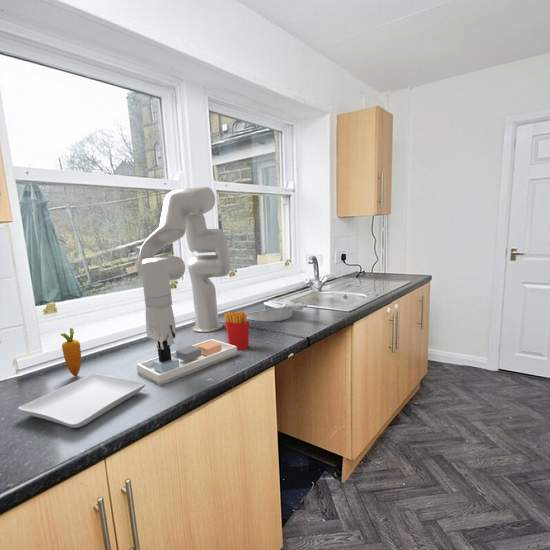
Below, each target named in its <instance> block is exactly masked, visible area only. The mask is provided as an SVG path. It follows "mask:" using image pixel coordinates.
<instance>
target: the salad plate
mask: <svg viewBox="0 0 550 550" xmlns="http://www.w3.org/2000/svg"><path fill="white" fill-rule="evenodd" d="M146 385H147V383H146V382H143V381H141V380H140V381H138V380H134V379H128V378H123V377H118V376H112V375H108V374H100V373H91V374H89V375H87V376H85V377H82V378H80V379H78V380H75V381H73V382H71V383H68V384H65V385H63V386H62V387H59V388H56V389H54V390H53V391H50V392H48V393H46V394H44V395H42V396H39V397H38V398H35V399H33V400H31V401H29V402H27V403H24V404H22V405H20V406H18V407H17V410H18V411H19V412H21V413H23V414H25V415H28V416H32V417H36V418H40V419H43V420H47V421H50V422H53V423H57V424H59V425H60V424H61V425H64V426H67V427H69V428H72V429H77V428H82V427H83V426H86V425H88V424H89V423H90V422H92V421H93V420H95V419H97V418H99V417H100V416H102V415H104V414H105V413H107V412H108V411H110V410H112V409H113V408H115V407H116V406H118V405H120V404H122V403H123V402H125V401H126V400H128V399H130V398H132V397H134V396H135V395H137V394H138V393H140V391H142V390H143V389H144V388H145V386H146Z"/></svg>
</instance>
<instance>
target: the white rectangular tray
mask: <svg viewBox="0 0 550 550" xmlns="http://www.w3.org/2000/svg"><path fill="white" fill-rule="evenodd" d="M211 341H212V342H215V343H218V344H221V349H222V351H220V352H217V353H215V354H212V355H209V356H205V355H203V354H201V356H200V357H197V358H195V359H192V360H189V361H187V362H186V361H183V360H181V359H179V367H177V368H175V369H172V370H169V371H167V372H164V373H161V372H159V371H157V370H155V369H153V361H155V360H158V359H159V356H157V357H154V358H151V359H148V360H145V361H144V360H143V361H142V362H138V363H136V370H137V372H136V373H137V374H138V375H139V376H142V377H143V378H144V379H147V380H148V381H150V382H151V383H154V384H156V385H158V386H159V387H160V386H163V385H166V384H168V383H171V382H173V381H176V380H178V379H181V378H184V377H185V375H186V376H188V375H191V374H194V373H196V372H198V371H201V370H204V369H205V368H207V367H208V368H209V367H211V366H213V365H215V364H218V363H221V362H224V361H225V360H228V359H231V358H233V357H236V356H238V350H237V346H234V345H231V344H229V342H228V343H226V342H223V341H221V340H217V339H215V338H210V339H207V340H204V341H200V342H198V343H196V344H192V345H191V346H194V347H197V348H198V346H199V345H202V344H205V343H208V342H211ZM171 356H172V357H174V358H176V359H178V358H177V357H176V350H175V351H171ZM180 377H181V378H180ZM170 381H171V382H170ZM165 383H166V384H165Z"/></svg>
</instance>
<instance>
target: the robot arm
mask: <svg viewBox="0 0 550 550" xmlns="http://www.w3.org/2000/svg"><path fill="white" fill-rule="evenodd" d="M215 204H216V195H215V193H214V191H213V190H212V188H210V187H208V186H204V187H203V186H201V187H191V188H190V187H189V188H187V187H185V188H178V189H174V190H171V191H170V192H169V193H167V194H166V195H165V197H164V199H163V204H162V210H161V215H160V220H159V224H158V225H159V226H158V228H157V229H155V230H154V231H153V232H152V233H151V234H150V235H149V236H148V237H147V238H146V239H145V241H144V242H143V243H142V244H141V247H140V250H139V253H138V258H137V264H136V265H137V266H136V271H137V275H138V277H139V279H140V280H142V286H143V287H142V288H143V289H142V290H143V295H144V305H145V326H146V327H145V330H146V336H147V337H148V338H149V339H150V340H151V339H152V340H153V341H154V342H155V343H156V348H157V355H158V356H157V357H159V361H160V362H162V363H163V362H166V361H168V360H171V352H172V351H171V347H172V345H174V344H175V340H174V339H175V338H176V337H177V327H176V321H175V315H174V312H173V311H174V310H173V300H172V299H173V298H172V297H173V296H172V290H171V282H170V281H177V280H179V279H181V278H182V277H183V276H184V274H185V272H186V265H185V264H186V263H185V261H184V260H183V259H182V258H181V257H180V256H177V255H171V256H170V255H168V256H166V255H165V256H156V254H157V253H158V252H159V251H160V250H161V249H163V248H165V247H166V246H168V245H171V244H173V243H175V242H176V241H178V240H180V239H182V238H183V237H184V236H186V237H185V238H186V242H187V247H188V250H189V251H190V252H191V253H193V254H198V255H194V256H192V257H190V258H189V260H188V262H187V270H188V273H189V277H190V282H191V289H192V296H193V297H192V298H193V307H194V314H195V315H194V316H195V318H193V319H192V321H193V322H194V323H195V325H193V326H192V330H193V331H194V332H196V333H209V332H211V333H212V332H214V331H218V330H220V329H222V328H223V323H221V322H219V315H218V314H219V313H218V304H217V302H218V301H217V295H216V294H217V291H216V286H215V284H214V282H213V281H211V279H210V278H224V277H227V276H229V274H230V273H231V261H230V254H229V247H228V240H227V235H226V233H225V232H224V231H225V230H224V231H223V230H222V229H220V228H208V227H207V224H206V218H205V217H206V216H204V215H205V214H206V213H208V212H210V211H212V210H213V208H214V207H215ZM207 253H215V254H207ZM199 254H203V255H199Z"/></svg>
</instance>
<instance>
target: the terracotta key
mask: <svg viewBox="0 0 550 550" xmlns="http://www.w3.org/2000/svg"><path fill="white" fill-rule="evenodd" d="M198 348H200V349H201V354H203V355H205V356H209V355H212V354H215V353H217V352H220V351H222V349H221V344H218V343H215V342H212V341H211V342H208V343H205V344H202V345H199V346H198Z"/></svg>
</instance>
